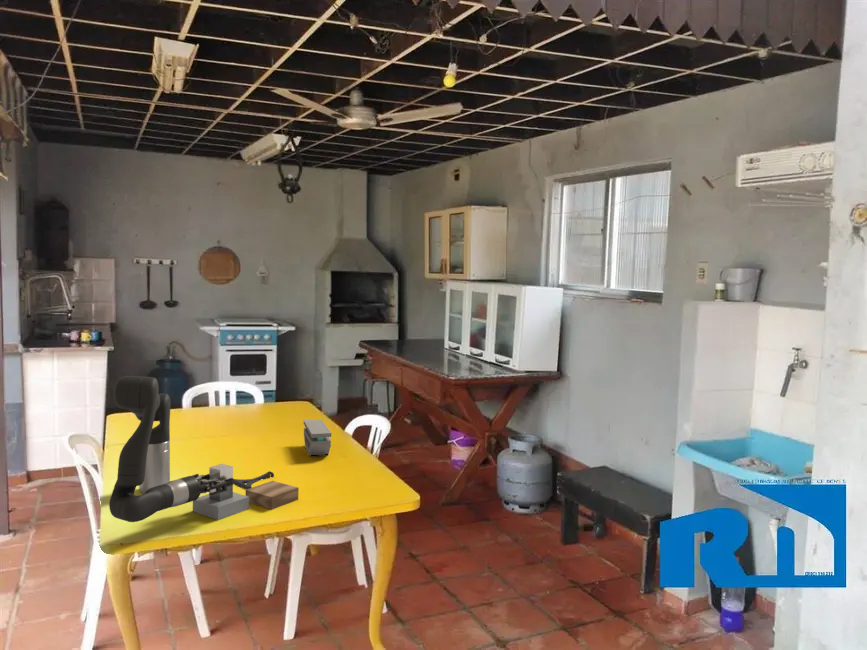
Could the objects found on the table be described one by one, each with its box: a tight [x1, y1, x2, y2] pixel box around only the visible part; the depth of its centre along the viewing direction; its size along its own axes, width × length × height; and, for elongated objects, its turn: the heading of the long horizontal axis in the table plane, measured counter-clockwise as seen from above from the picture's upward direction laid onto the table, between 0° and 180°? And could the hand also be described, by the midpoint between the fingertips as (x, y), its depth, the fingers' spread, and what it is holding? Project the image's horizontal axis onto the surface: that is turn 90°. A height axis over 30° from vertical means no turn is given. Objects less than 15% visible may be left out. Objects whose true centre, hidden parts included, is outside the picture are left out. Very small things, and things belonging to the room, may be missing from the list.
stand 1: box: [192, 491, 250, 521], centre depth 214 cm, size 12×12×4 cm
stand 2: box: [245, 480, 300, 510], centre depth 225 cm, size 12×12×4 cm
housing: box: [208, 463, 234, 502], centre depth 214 cm, size 5×5×10 cm
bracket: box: [233, 470, 275, 490], centre depth 245 cm, size 14×15×3 cm
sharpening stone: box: [303, 419, 332, 457], centre depth 284 cm, size 25×8×11 cm, turn 18°
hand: (223, 478), depth 215 cm, fingers open, 8 cm apart
